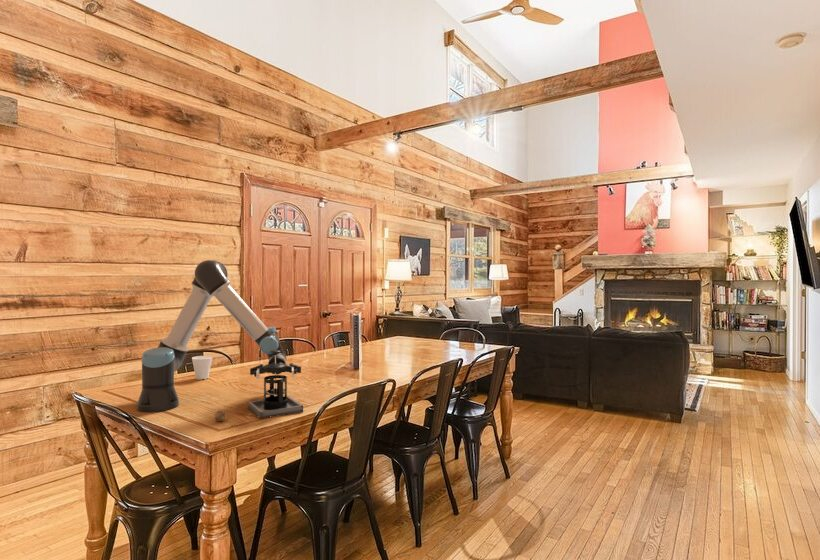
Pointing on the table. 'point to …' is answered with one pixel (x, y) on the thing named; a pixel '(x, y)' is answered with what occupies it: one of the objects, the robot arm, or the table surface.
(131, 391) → the table surface
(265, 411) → the tray
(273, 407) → the french press
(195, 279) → the robot arm
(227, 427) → the table surface
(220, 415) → the wooden ball
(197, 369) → the cup
